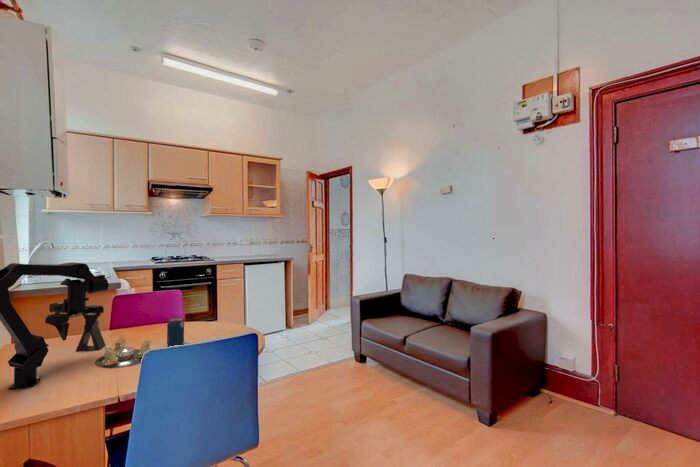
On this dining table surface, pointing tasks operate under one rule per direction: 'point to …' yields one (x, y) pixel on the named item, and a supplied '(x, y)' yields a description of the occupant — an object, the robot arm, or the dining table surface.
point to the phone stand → (96, 339)
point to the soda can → (175, 332)
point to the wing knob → (110, 358)
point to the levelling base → (121, 363)
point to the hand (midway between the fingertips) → (76, 336)
